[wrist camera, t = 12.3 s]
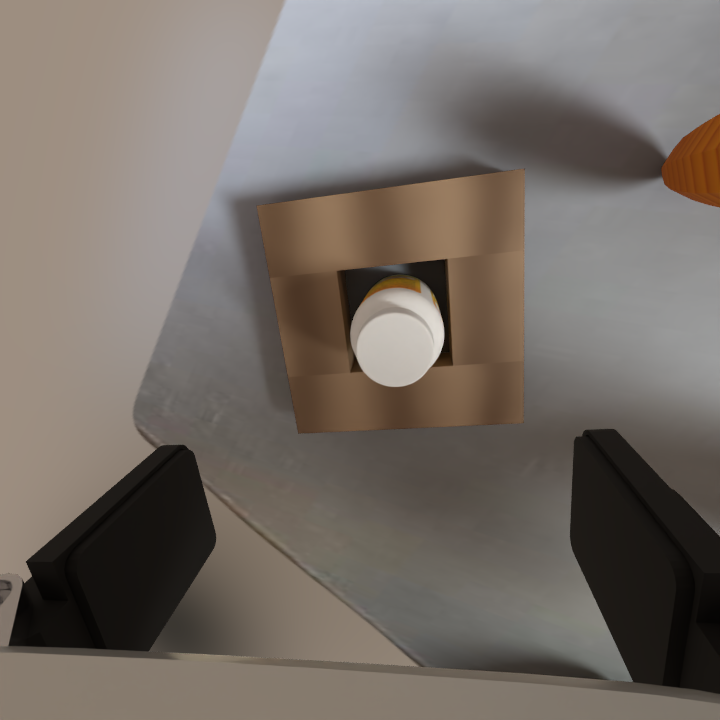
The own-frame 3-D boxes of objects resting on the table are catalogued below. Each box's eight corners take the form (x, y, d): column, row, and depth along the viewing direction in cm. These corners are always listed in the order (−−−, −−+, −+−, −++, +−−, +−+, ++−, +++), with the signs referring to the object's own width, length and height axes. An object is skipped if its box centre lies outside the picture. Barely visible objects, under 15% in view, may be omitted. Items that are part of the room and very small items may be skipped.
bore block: (512, 174, 26) (524, 168, 23) (513, 404, 31) (523, 423, 28) (272, 207, 29) (256, 205, 26) (308, 415, 33) (298, 433, 31)
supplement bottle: (348, 315, 30) (320, 355, 21) (396, 257, 29) (387, 274, 19) (403, 361, 31) (399, 419, 22) (454, 307, 29) (472, 346, 20)
